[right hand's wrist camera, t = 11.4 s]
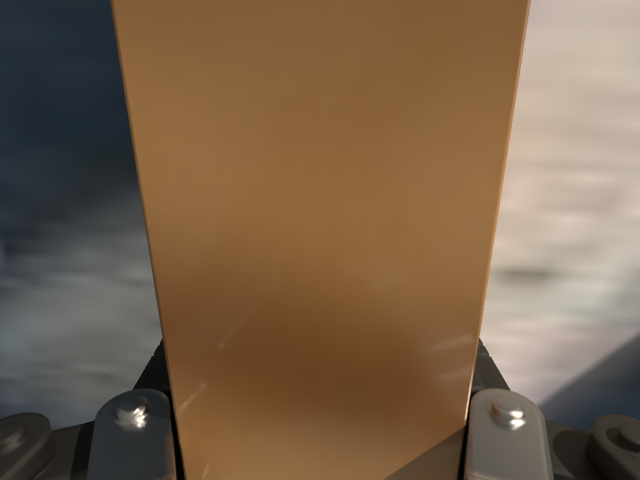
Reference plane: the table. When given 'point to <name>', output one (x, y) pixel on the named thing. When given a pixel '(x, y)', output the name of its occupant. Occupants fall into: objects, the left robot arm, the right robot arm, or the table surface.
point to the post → (320, 222)
